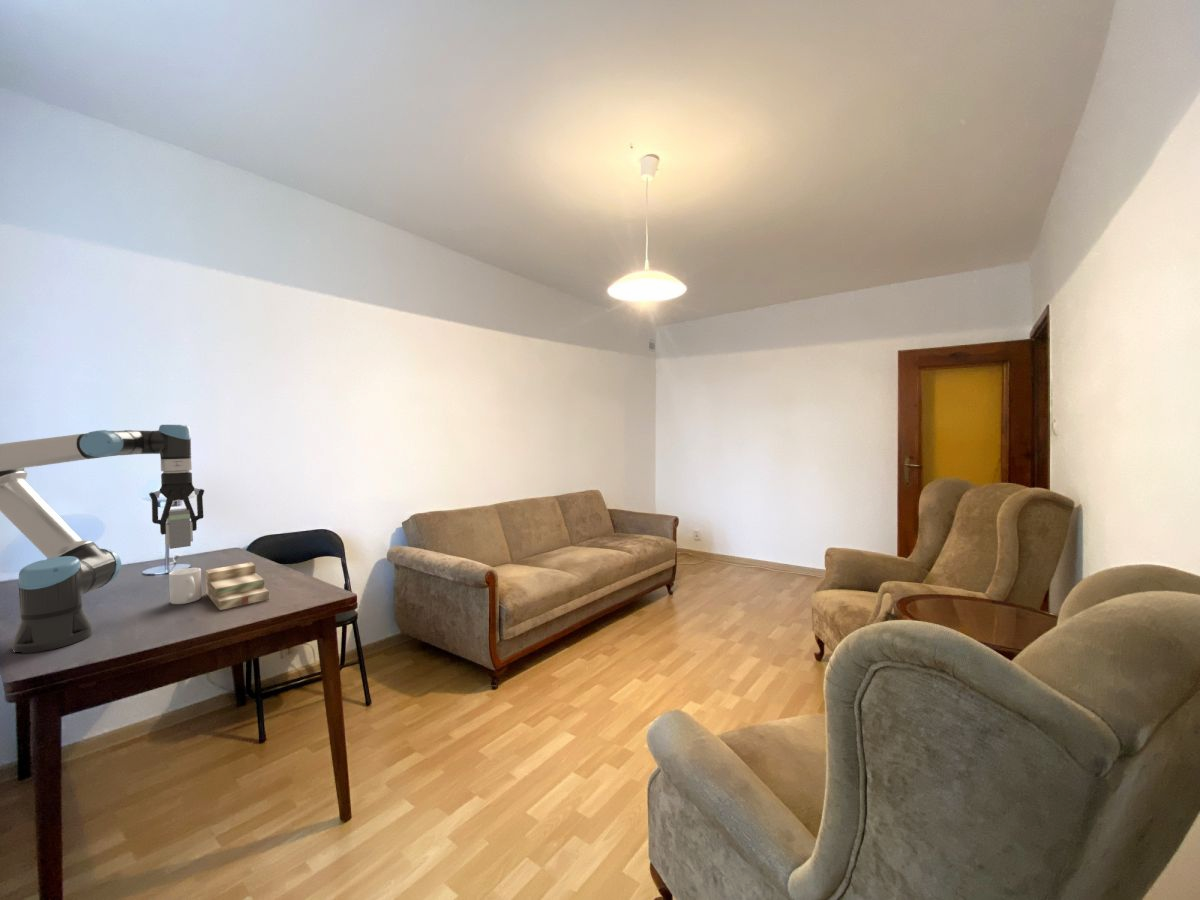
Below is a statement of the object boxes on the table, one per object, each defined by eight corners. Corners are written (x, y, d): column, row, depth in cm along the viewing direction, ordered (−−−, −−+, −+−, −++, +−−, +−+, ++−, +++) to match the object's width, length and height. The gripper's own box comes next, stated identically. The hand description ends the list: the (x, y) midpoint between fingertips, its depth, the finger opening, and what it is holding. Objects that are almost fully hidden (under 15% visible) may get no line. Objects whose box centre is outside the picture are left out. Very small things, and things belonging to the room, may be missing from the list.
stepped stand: (220, 610, 160) (219, 584, 160) (206, 593, 177) (205, 570, 176) (269, 599, 171) (268, 574, 170) (252, 584, 187) (251, 562, 187)
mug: (178, 608, 162) (177, 577, 162) (166, 601, 169) (165, 572, 168) (209, 600, 169) (208, 571, 169) (196, 594, 176) (195, 566, 175)
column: (169, 549, 152) (168, 511, 151) (167, 546, 155) (166, 510, 155) (191, 546, 156) (189, 509, 155) (188, 543, 159) (187, 508, 159)
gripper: (139, 474, 145) (142, 549, 146) (214, 470, 159) (216, 539, 160) (137, 472, 150) (140, 545, 151) (209, 469, 164) (212, 536, 165)
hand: (179, 542), depth 155 cm, fingers closed on column, 5 cm apart
